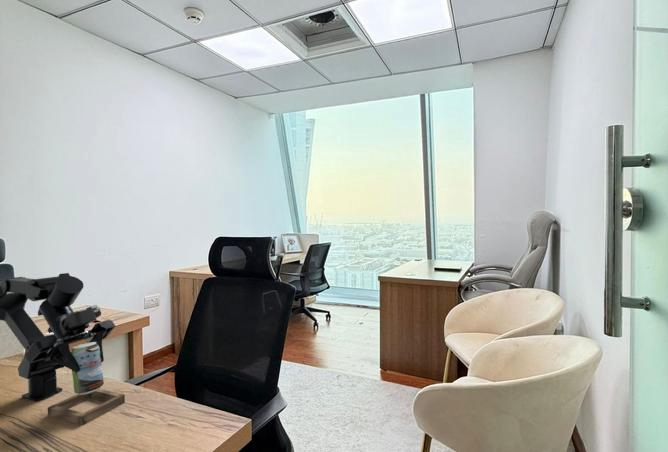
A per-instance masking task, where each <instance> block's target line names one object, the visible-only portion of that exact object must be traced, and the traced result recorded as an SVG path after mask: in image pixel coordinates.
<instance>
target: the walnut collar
mask: <svg viewBox="0 0 668 452" xmlns="http://www.w3.org/2000/svg"><path fill="white" fill-rule="evenodd" d="M125 395H126V394H122V393H119V392H116V391H115V392H114V391H111V390H106V389H102V388H100V389H98V390H97V391H94V392H92V393H89V394H84V395H79V394H77V393H76V394H75V395H72V396H70V397H67V398H66V399H63V400H62V401H59V402H57V403H55V404H53V405H50V406H48V407H47V416H48V417H50V418H54V419H58V420H62V421H66V422H68V423H72V424H75V425H79V426H83V425H85V424H87V423H89V422H91V421H93V420H94V419H97V418H99V417H100V416H102V415H104V414H106V413H107V412H110V411H111V410H113V409H115V408H117V407H119V406H121V405H123V404H125V402H126V400H125V399H126V397H125ZM89 399H95V400H100V401H103V403H100V404H99V405H96V406H95V407H93V408H91V409H89V410H87V411H85V412H81V411H76V410H74V409H73V410H72V409H70V408H72V407H75V406H77V405H78V404H81V403H83V402H85V401H87V400H89Z"/></svg>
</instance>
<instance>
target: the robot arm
mask: <svg viewBox="0 0 668 452" xmlns="http://www.w3.org/2000/svg"><path fill="white" fill-rule="evenodd" d="M83 289H84V282H83V281H82V280H81V279H80V278H78V277H75V276H71V275H70V274H69V272H63V273H59V275H58V276H52V277H51V276H50V277H49V276H48V277H42V278H28V277H24V276H18V277H15V276H14V277H10V278H8V277H7V278H5V279H2V280H1V281H0V321H3V322H5V323H6V325H7V326H8V327H9V329H10V330H11V332H12V333H13V334H14V336H15V337H16V339H17V340H18V342H19V343H20V344H21V346H22V347H23V349H24V353H23V358H22V360H21V362H20V363H19V364H18V367H17V373H18V376H19V377H21V378H24V379H26V380H27V391H28V392H27V393H25V394H22V395H21V398H22V399H26V400H30V401H34V402H39V401H40V400H43V399H45V398H48V397H51V396H53V395H56V394H57V393H59V392H62V391H63V388H62V387H58V385H57V384H58V382H57V379H58V378H57V370H60V369H63V368H67V369H68V370H71V371H72V370H73V371H75V372H79V371H80V367H79V365H78V363H77V361H76V360H75V358H74V357H73V355H72V353H71V349H70V345H72V344H74V343H77V342H81V341H84V340H85V341H86V343H89V342H96V344H97V345H98V346H99V347H100V356H101V364H102V363H103V362H104V360H105V358H104V352H103V351H104V350H103V340H105V339H107V337H108V336H109V335H110V334H111V333H112V331H113V330H114V329H115V328H116V324H115V323H114V321H113V320H111V319H106V320H104V321H99V322H96V323H95V325H93V327H92V328H91V329H89V330H86V329H88V328H89V327H90V323H91V322H95V321H97V318H99V317H101V315H102V312H101V308H100V307H99V306H98V304H94V305H90V306H89V307H87V308H86V309H84V310H80V311H74V310H73V309H72V307H71V305H73V304H74V303H75V302H76V300H77V298H78V297H79V295H80V293H81V292H82V290H83ZM28 300H30V301H31V302H39V301H42V302H41V304H40V305H39V307H38V310H37V315H38V316H43V318H44V320H45V322H46V323H47V325H48V326H49V327H48V328H47V332H48V333H49V334H47V335H44V333H43V332H42V331H41V329H40V328H39V327H38V325H37V324H36V323H35V322H34V320H33V319H32V317H31V316H30V315H29V314H28V313H27V311H26V310H25V306H26V304H27V302H28ZM51 333H53V334H51Z"/></svg>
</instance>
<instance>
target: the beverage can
mask: <svg viewBox="0 0 668 452" xmlns="http://www.w3.org/2000/svg"><path fill="white" fill-rule="evenodd" d="M70 352H71V353H72V355H73V357H74V358H75V360H76V361H77V363H78V365H79V367H80V371H79V372H75V371H73V370H71V372H72V373H71V374H72V382H73V391H74V393H75V394H76V395H77V394H79V395H84V394H89V393H92V392H94V391H97V390H98V389H102V386H103V385H105V384H104V374H103V366H102V363H101V356H100V347H99V346H98V345H97V344H96V342H89V343H88V342H85V343H81V344H78V345H75V346H73V347H72V350H70Z"/></svg>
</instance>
